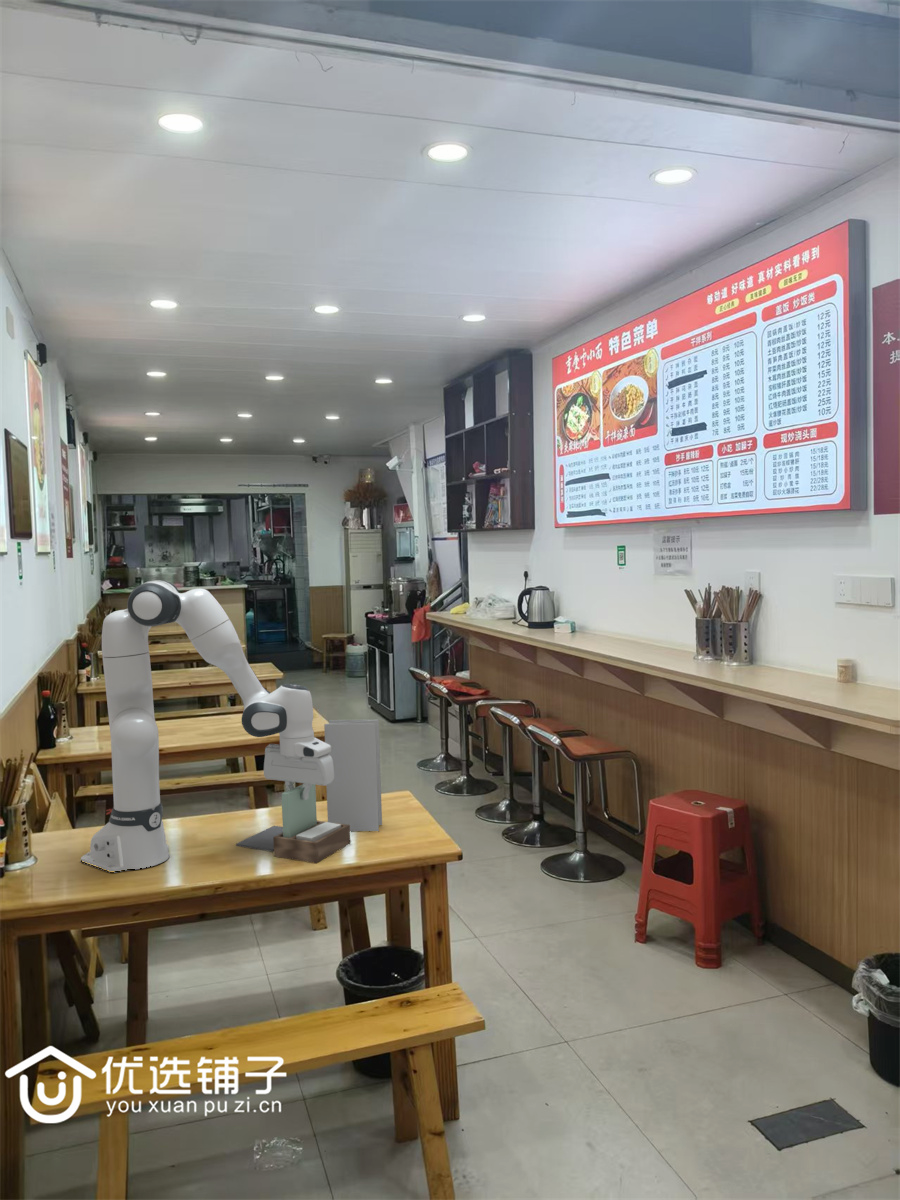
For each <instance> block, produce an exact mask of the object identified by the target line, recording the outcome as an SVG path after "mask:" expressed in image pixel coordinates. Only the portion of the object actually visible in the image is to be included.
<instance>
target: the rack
mask: <svg viewBox="0 0 900 1200" xmlns="http://www.w3.org/2000/svg"><path fill="white" fill-rule="evenodd" d="M325 822H326V820H325V821H323V820H317V825H315V826H313V827H311V828H314V827H316V826H318V825H320V824H322V823H325ZM329 823H332V822H329ZM335 824H339V823H335ZM340 825H341V828H339V829H337V830H335V831H333V832H332V833H330V834H328V835H326V836H324V837H322V838H321V839H319V840H317V841H315V842H314V841H307V840H300V839H296V835H295V836H293V837H291V838H287V837H283V833H281V834H279V835H277V836H275V837H273V842H274V851H273V857H276V858H281V859H282V858H283V859H289V860H295V861H300V860H301V862H306V861H308V862H307V863H312V862H314V863H313V864H317V862H318V863H320V862H321V861H323V860H325V859H326V858H327V856H328V857H330V856H331V855H333V854H335V853H337V852H338V851H340V850H342V849H343V848H345V847H347V846H348V844H349V845H350V844H351V832H350V825H347V824H340ZM311 828H309V829H311ZM309 829H307V830H309ZM307 830H305V831H307ZM305 831H303V832H305ZM301 833H302V832H301ZM299 834H300V833H299ZM297 835H298V834H297ZM346 845H347V846H346ZM341 848H342V849H341ZM339 849H340V850H339ZM337 850H338V851H337ZM336 851H337V852H336ZM334 852H335V853H334ZM329 855H330V856H329ZM324 858H325V859H324ZM322 859H323V860H322Z"/></svg>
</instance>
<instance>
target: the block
mask: <svg viewBox="0 0 900 1200" xmlns="http://www.w3.org/2000/svg"><path fill="white" fill-rule="evenodd" d="M304 789H305V787H303V783H301V785H298V786H296V787H295V786H294V788H293V789H291V790H288V789H287V791H284V792H281V814H282V815H281V816H282V820H281V821H282V827H283V837H287V838H291V837H293V836H295V835H297V834H299V833H301V832H303V831H305V830H307V829H309V828H311V827H313V826H315V825H317V821H318V820H317V819H318V818H317V793H316V791H317V790H316V785H315V784H312V787H311V789H310V791H309V798H308V799H307V800H302V799H300V797H301V796H300V793H301V792H303V791H304Z"/></svg>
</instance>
